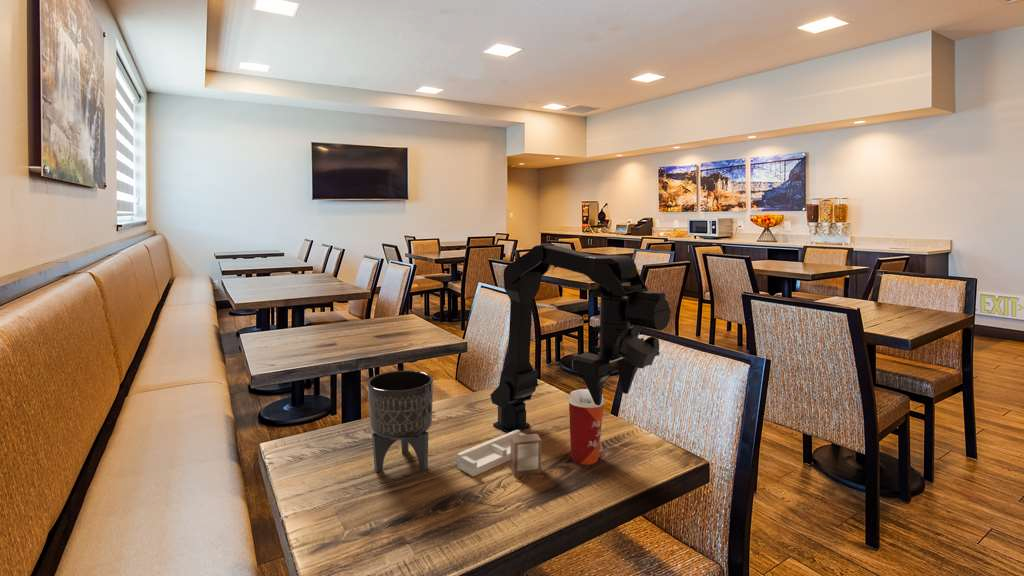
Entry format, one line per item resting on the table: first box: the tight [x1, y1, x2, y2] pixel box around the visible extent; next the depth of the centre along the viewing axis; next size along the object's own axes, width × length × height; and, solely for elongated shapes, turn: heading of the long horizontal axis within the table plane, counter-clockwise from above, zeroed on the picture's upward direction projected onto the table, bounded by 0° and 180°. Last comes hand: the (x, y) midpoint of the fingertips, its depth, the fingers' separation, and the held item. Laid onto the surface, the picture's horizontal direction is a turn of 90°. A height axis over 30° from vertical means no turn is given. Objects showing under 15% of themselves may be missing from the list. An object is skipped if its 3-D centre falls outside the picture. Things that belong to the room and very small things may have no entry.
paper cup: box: [567, 388, 606, 466], centre depth 112 cm, size 8×8×14 cm
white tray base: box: [456, 429, 527, 477], centre depth 113 cm, size 5×17×3 cm, turn 134°
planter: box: [366, 370, 434, 473], centre depth 109 cm, size 13×13×18 cm
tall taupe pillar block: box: [509, 433, 543, 477], centre depth 107 cm, size 6×3×7 cm, turn 104°
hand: (611, 398), depth 106 cm, fingers open, 9 cm apart
